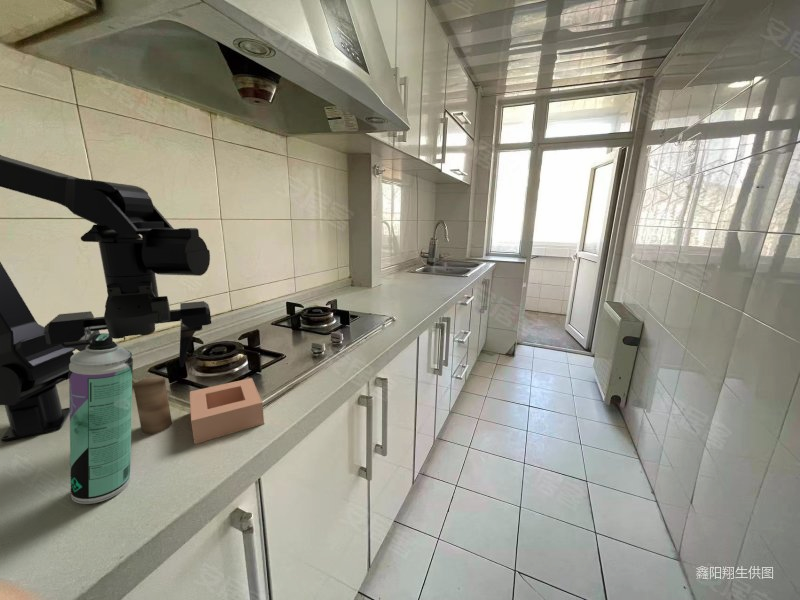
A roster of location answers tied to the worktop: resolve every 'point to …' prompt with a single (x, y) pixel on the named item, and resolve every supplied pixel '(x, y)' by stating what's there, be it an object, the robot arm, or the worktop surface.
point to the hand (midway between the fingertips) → (146, 372)
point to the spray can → (100, 420)
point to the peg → (152, 405)
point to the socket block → (225, 409)
